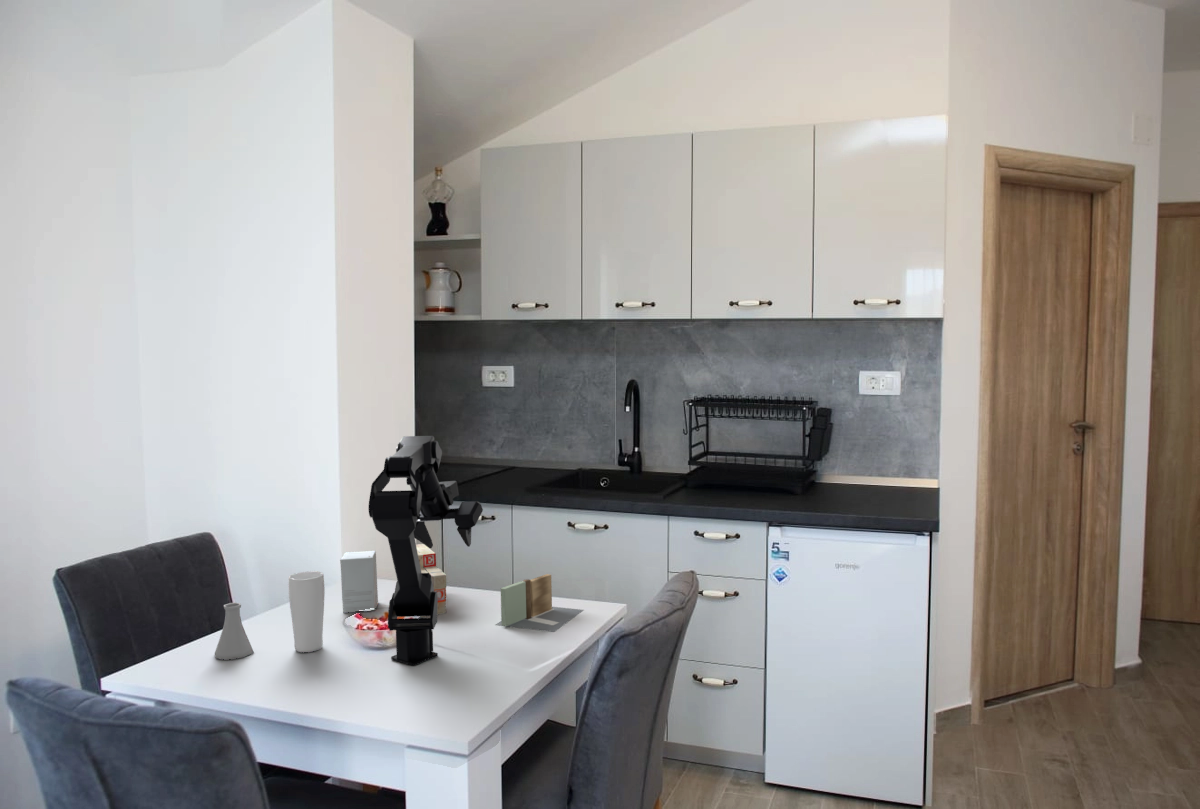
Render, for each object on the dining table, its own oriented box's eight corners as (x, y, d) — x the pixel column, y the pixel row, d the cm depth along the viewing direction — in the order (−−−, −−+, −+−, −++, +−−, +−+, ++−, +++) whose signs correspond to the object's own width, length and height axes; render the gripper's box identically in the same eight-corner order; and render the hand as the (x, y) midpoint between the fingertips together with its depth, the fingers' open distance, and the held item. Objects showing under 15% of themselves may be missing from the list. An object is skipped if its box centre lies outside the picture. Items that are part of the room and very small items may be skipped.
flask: (208, 655, 167) (205, 605, 166) (244, 645, 172) (242, 597, 172) (223, 664, 162) (221, 612, 162) (260, 653, 167) (258, 604, 167)
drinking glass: (298, 657, 165) (295, 581, 164) (285, 648, 170) (282, 575, 169) (332, 649, 169) (329, 575, 168) (318, 640, 174) (315, 569, 173)
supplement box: (378, 602, 201) (377, 549, 201) (374, 611, 194) (373, 557, 193) (346, 604, 200) (345, 551, 200) (341, 613, 193) (339, 558, 192)
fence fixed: (528, 619, 185) (527, 581, 184) (522, 618, 186) (521, 580, 185) (552, 609, 192) (551, 573, 191) (547, 608, 193) (546, 572, 192)
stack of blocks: (447, 615, 191) (445, 561, 190) (419, 619, 188) (418, 564, 188) (425, 591, 210) (424, 542, 210) (400, 595, 208) (398, 545, 207)
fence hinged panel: (522, 617, 185) (521, 581, 185) (526, 618, 185) (525, 581, 184) (501, 625, 180) (500, 588, 179) (505, 626, 179) (504, 589, 179)
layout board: (554, 633, 176) (554, 631, 176) (494, 626, 181) (494, 624, 181) (583, 611, 191) (583, 609, 191) (528, 605, 196) (528, 603, 196)
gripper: (479, 463, 180) (501, 520, 188) (402, 469, 186) (426, 524, 193) (461, 495, 171) (484, 554, 178) (381, 500, 177) (406, 557, 184)
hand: (450, 546), depth 184 cm, fingers open, 9 cm apart
